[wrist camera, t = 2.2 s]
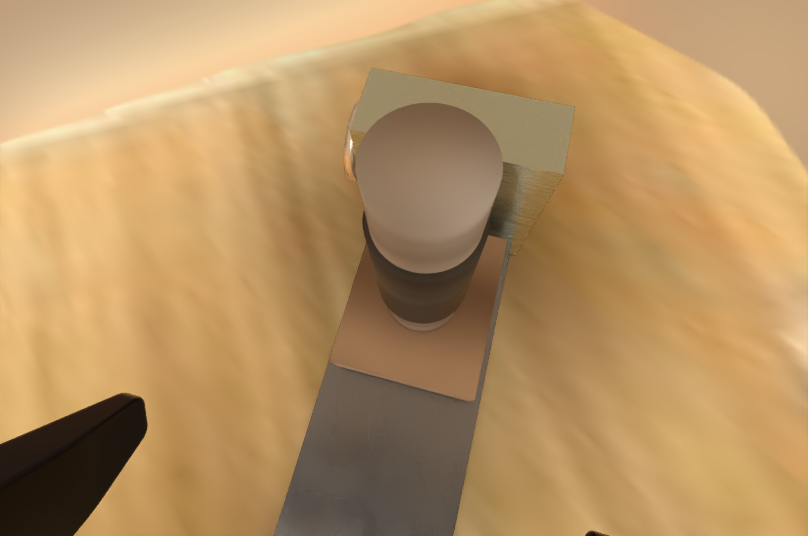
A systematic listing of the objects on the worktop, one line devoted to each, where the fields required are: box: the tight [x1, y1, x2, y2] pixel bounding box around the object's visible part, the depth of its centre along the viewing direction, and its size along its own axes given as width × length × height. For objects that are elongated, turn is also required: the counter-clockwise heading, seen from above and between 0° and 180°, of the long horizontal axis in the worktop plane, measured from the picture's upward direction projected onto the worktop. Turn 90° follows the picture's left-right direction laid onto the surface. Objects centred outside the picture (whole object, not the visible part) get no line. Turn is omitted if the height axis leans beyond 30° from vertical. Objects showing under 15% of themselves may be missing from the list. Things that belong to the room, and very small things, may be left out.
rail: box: [274, 68, 575, 536], centre depth 17 cm, size 22×9×8 cm, turn 165°
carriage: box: [329, 103, 507, 402], centre depth 15 cm, size 7×6×12 cm
